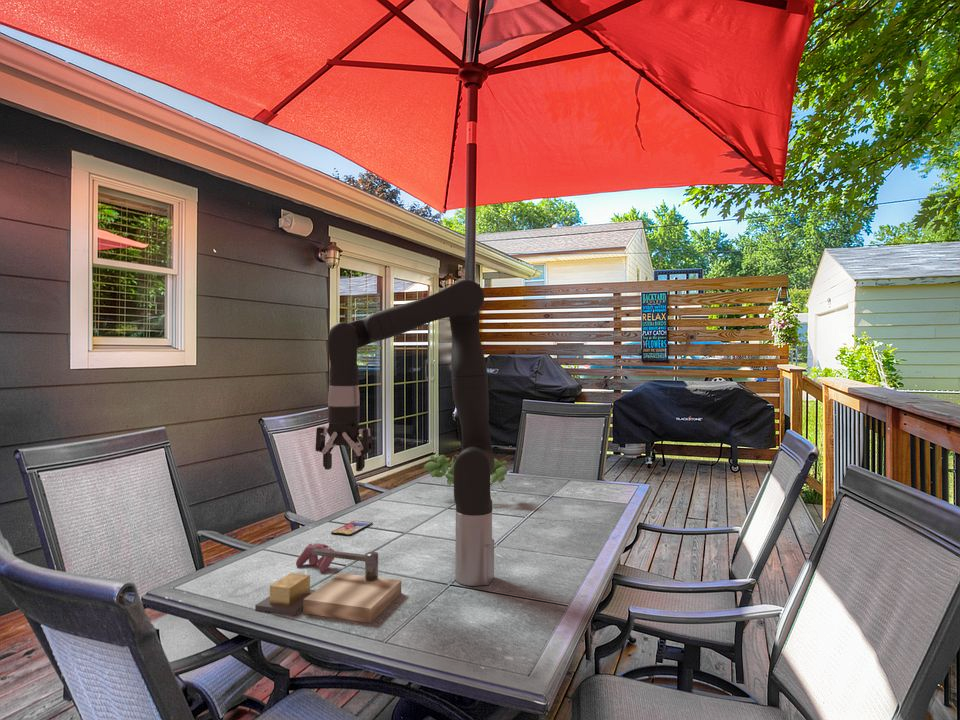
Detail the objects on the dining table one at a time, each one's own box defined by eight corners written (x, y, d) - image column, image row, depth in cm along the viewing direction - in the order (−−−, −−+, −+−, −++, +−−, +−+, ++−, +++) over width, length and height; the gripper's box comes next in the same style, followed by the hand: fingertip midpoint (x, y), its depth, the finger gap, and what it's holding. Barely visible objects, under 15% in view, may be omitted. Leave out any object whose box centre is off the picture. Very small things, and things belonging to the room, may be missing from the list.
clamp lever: (380, 576, 135) (380, 552, 135) (374, 581, 132) (374, 556, 132) (317, 567, 141) (317, 544, 141) (309, 572, 138) (310, 548, 138)
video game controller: (331, 575, 149) (340, 548, 152) (320, 572, 145) (329, 544, 148) (304, 568, 154) (313, 542, 156) (293, 565, 150) (302, 538, 153)
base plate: (401, 593, 134) (401, 580, 134) (370, 622, 118) (370, 608, 118) (340, 585, 138) (340, 573, 138) (303, 613, 123) (303, 599, 123)
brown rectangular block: (309, 592, 131) (310, 575, 131) (289, 606, 124) (289, 588, 124) (291, 589, 133) (291, 572, 133) (269, 603, 125) (269, 585, 125)
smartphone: (373, 522, 191) (350, 534, 177) (373, 525, 191) (350, 537, 177) (354, 520, 193) (329, 532, 179) (354, 523, 193) (329, 535, 179)
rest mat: (322, 595, 132) (322, 591, 132) (295, 615, 122) (295, 610, 122) (285, 590, 135) (285, 586, 135) (255, 609, 124) (255, 605, 124)
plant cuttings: (433, 509, 235) (414, 486, 219) (444, 472, 245) (426, 447, 228) (514, 518, 223) (500, 494, 207) (522, 479, 233) (509, 452, 216)
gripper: (377, 403, 141) (376, 468, 141) (326, 402, 145) (325, 465, 145) (363, 405, 134) (362, 474, 134) (309, 404, 137) (309, 471, 137)
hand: (343, 469), depth 139 cm, fingers open, 8 cm apart
